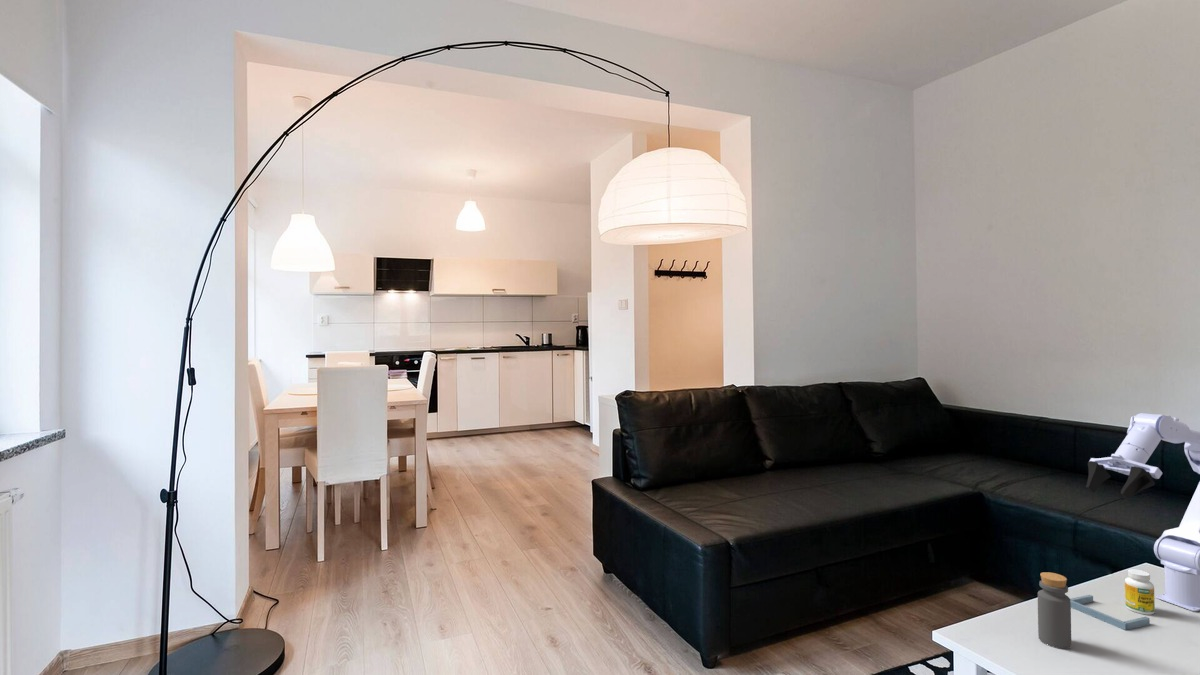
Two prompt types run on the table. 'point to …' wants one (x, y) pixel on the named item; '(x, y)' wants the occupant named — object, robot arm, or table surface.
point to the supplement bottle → (1139, 592)
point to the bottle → (1054, 611)
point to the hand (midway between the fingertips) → (1106, 493)
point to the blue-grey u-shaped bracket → (1125, 625)
